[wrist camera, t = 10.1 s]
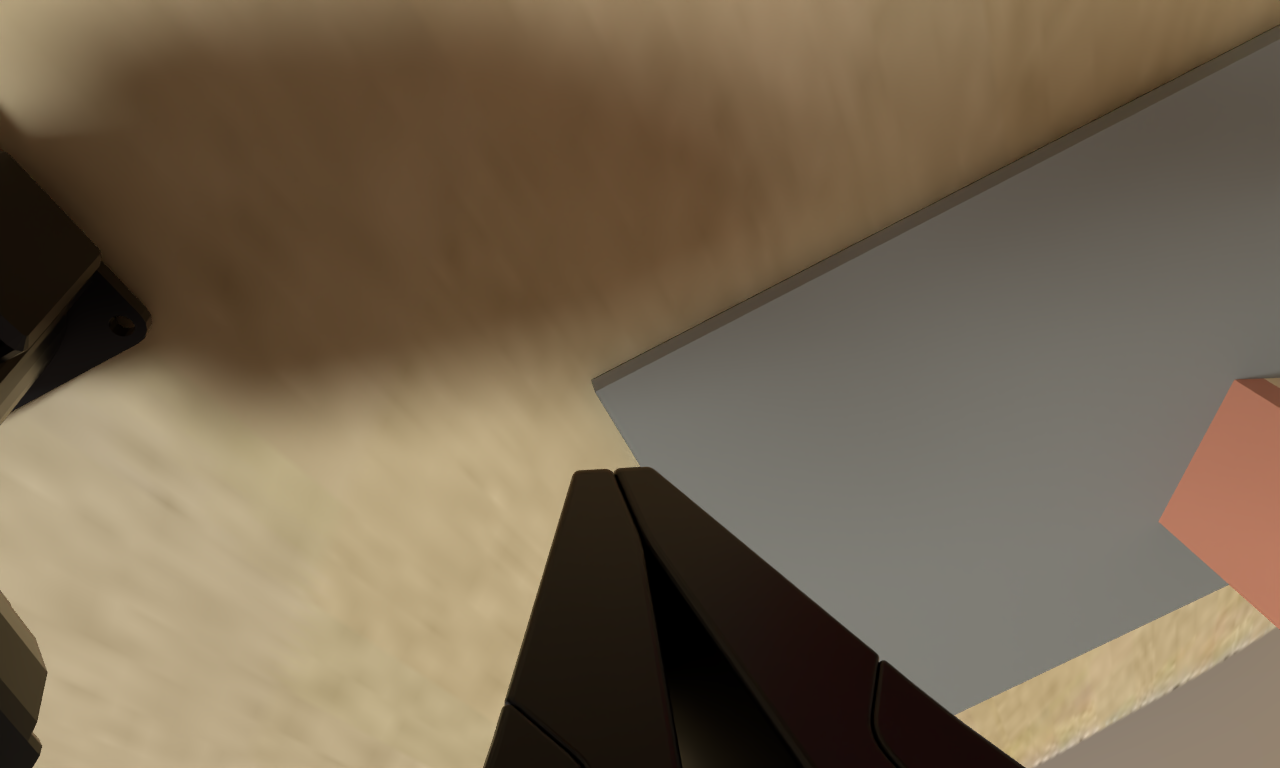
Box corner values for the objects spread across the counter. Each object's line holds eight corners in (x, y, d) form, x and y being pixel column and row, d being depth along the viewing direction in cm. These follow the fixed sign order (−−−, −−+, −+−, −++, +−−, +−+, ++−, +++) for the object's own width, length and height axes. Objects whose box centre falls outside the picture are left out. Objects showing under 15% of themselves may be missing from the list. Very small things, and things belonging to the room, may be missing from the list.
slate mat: (823, 761, 34) (828, 774, 34) (591, 380, 22) (595, 391, 22) (1407, 483, 33) (1422, 492, 32) (1503, -91, 21) (1529, -90, 20)
